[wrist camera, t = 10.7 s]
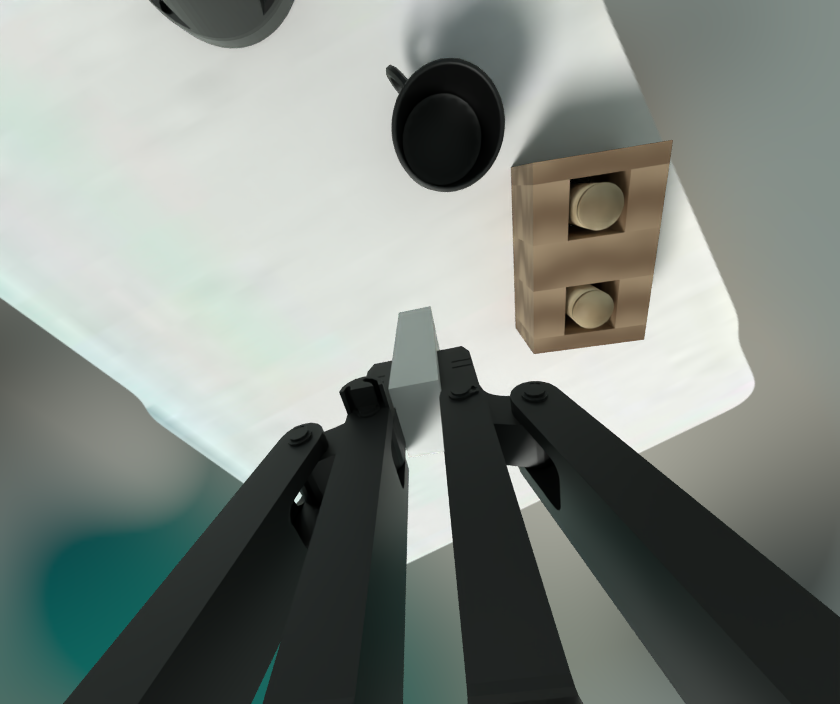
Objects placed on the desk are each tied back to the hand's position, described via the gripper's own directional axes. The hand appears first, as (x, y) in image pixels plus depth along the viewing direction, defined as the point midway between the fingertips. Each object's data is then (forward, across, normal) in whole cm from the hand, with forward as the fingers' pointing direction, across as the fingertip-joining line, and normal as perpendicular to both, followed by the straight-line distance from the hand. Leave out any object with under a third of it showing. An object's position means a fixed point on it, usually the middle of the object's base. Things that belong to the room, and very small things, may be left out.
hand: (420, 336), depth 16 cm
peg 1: (+27, +17, +1) cm, 32 cm away
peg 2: (+27, +17, -9) cm, 33 cm away
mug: (+28, +4, +11) cm, 30 cm away
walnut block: (+28, +17, -4) cm, 33 cm away
